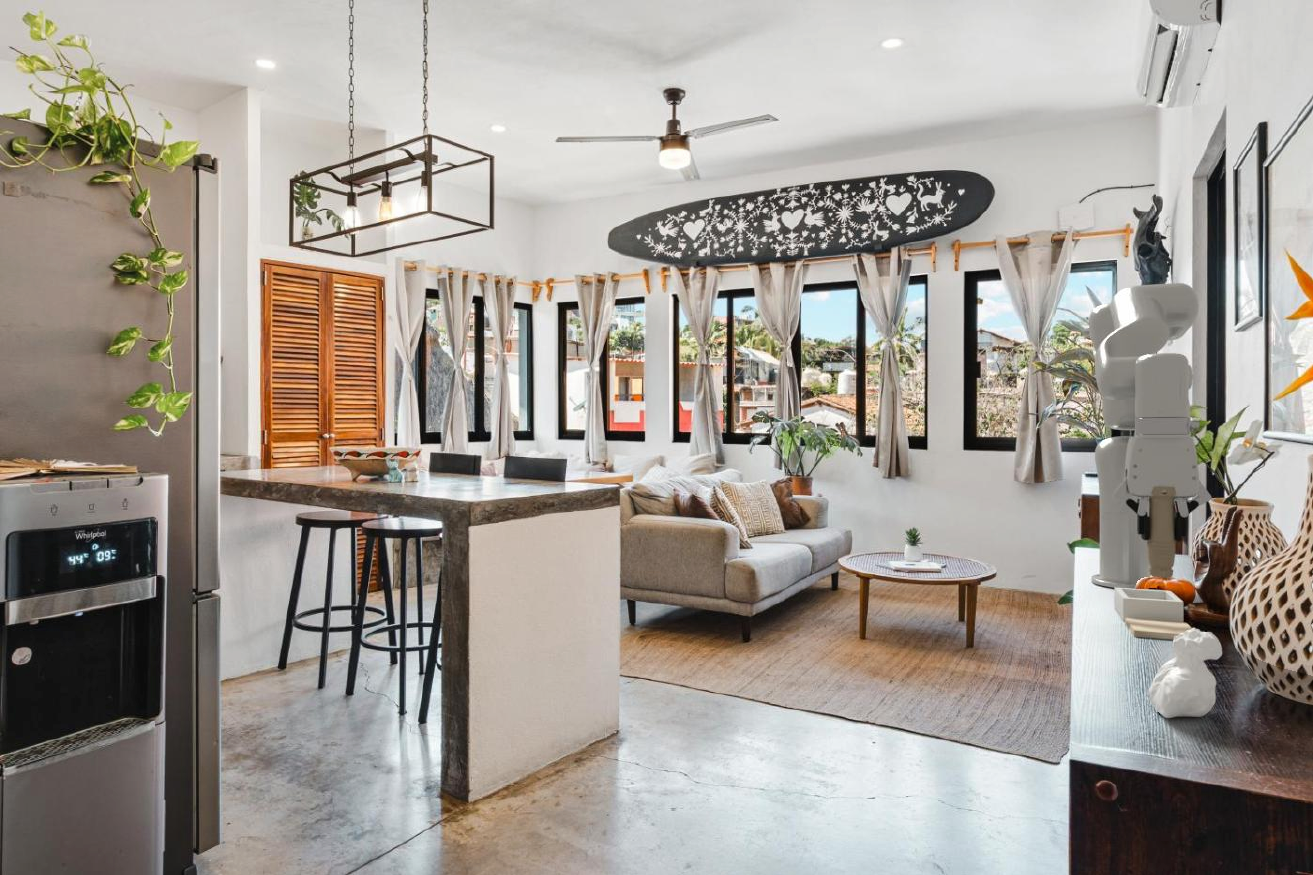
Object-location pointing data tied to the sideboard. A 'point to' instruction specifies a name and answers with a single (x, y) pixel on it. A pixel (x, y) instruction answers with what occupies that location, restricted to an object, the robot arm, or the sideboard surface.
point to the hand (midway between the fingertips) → (1161, 538)
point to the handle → (1161, 532)
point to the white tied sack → (1187, 676)
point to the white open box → (1148, 604)
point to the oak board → (1156, 628)
